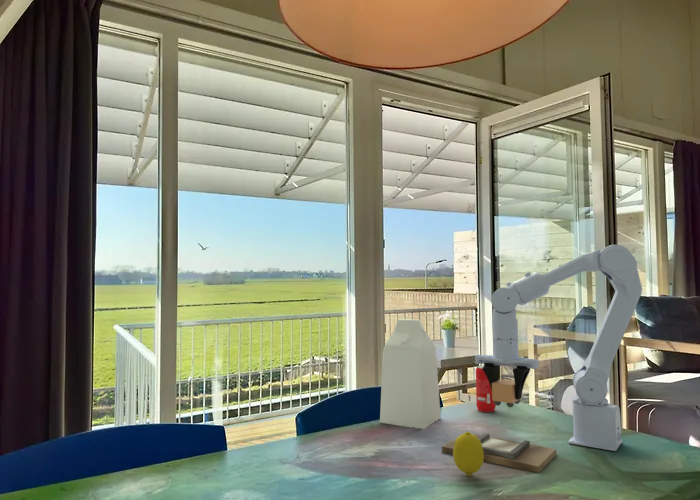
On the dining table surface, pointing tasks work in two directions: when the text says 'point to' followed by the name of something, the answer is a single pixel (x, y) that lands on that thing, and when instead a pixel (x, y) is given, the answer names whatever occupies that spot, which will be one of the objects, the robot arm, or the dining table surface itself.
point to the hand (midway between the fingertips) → (506, 397)
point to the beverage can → (483, 392)
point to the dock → (511, 453)
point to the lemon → (468, 453)
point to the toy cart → (504, 391)
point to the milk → (409, 377)
